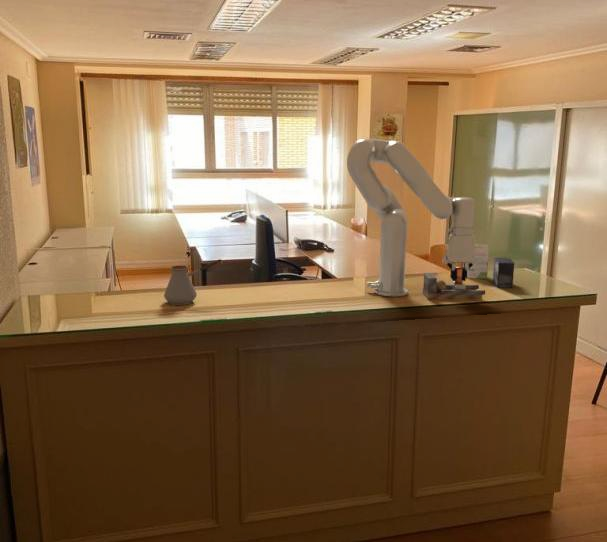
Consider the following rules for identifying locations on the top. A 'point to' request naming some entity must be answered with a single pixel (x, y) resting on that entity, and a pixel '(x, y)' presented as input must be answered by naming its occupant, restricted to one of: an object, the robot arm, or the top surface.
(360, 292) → the top surface
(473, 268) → the ink box
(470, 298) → the press bench
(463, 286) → the ram
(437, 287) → the walnut
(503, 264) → the small box
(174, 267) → the coffee pot
